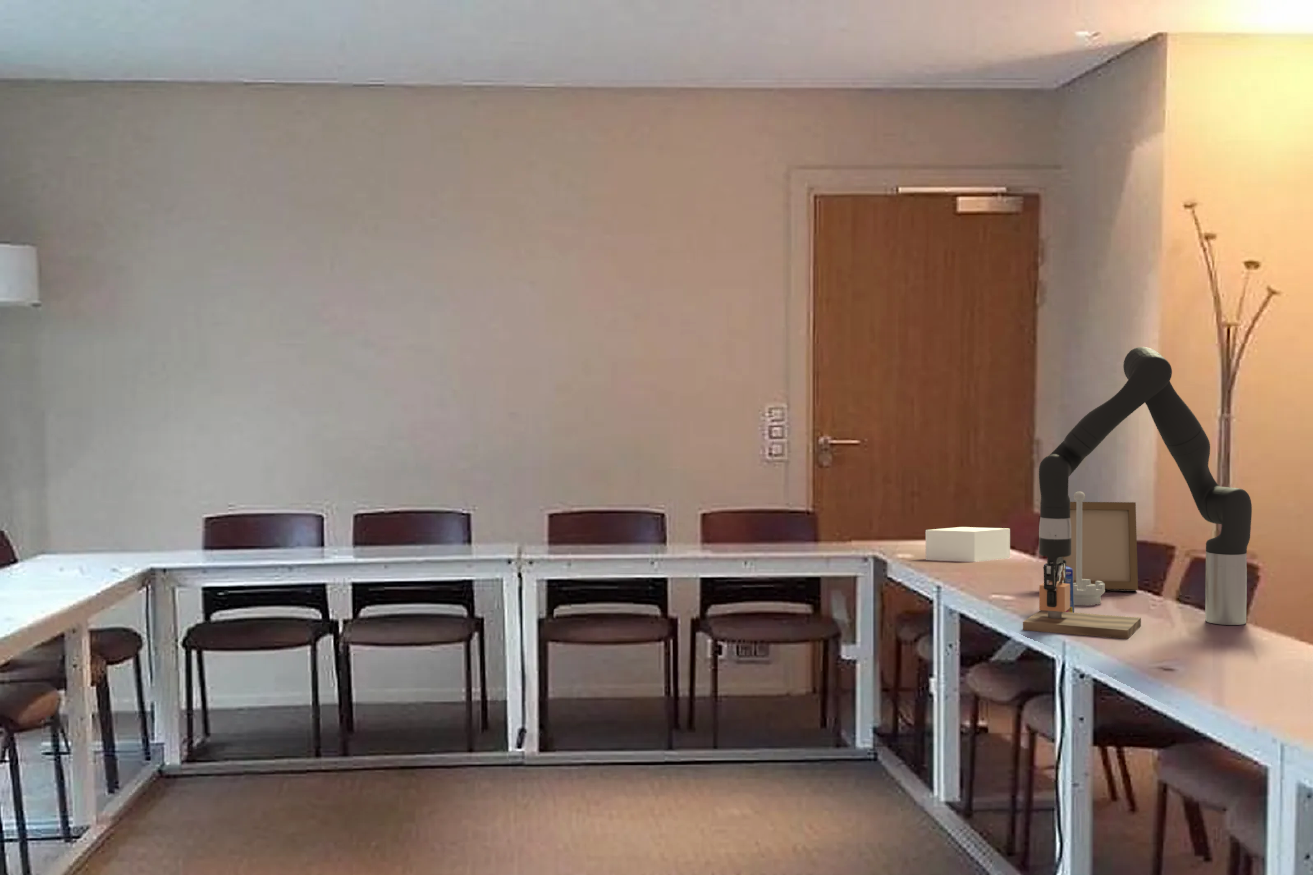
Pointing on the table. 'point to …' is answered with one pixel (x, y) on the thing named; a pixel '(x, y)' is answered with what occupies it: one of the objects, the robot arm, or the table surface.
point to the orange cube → (1062, 598)
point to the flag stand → (1083, 587)
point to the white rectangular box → (968, 544)
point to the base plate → (1082, 624)
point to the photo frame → (1106, 544)
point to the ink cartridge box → (1070, 581)
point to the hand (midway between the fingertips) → (1054, 604)
